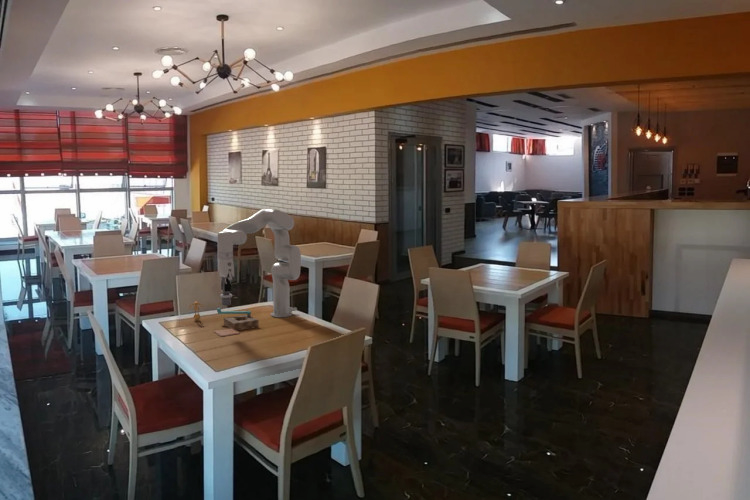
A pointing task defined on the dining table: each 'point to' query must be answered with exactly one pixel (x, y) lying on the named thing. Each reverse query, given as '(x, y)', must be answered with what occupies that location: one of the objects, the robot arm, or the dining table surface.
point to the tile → (226, 332)
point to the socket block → (241, 322)
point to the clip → (232, 312)
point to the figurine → (196, 316)
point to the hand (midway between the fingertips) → (226, 290)
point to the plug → (225, 295)
